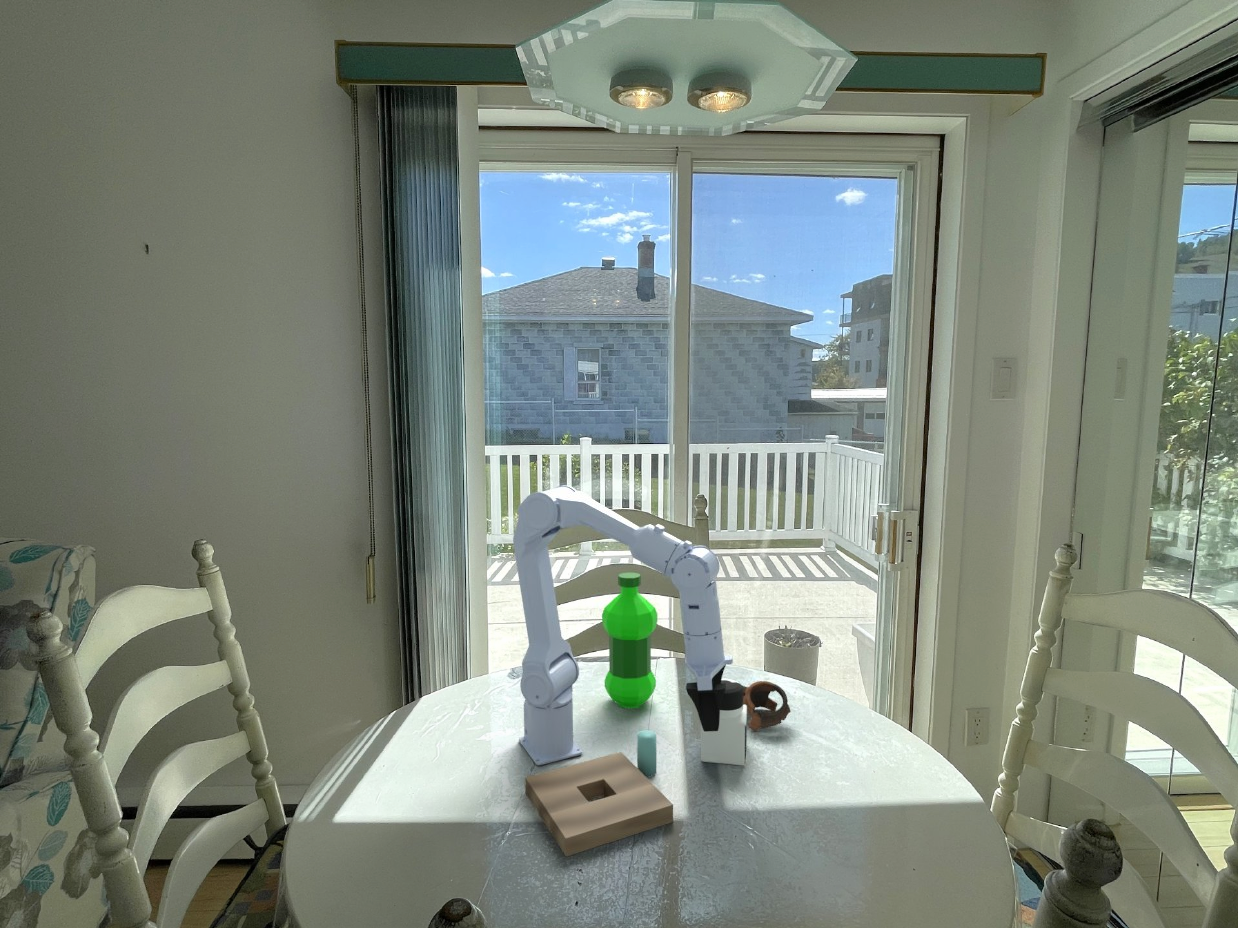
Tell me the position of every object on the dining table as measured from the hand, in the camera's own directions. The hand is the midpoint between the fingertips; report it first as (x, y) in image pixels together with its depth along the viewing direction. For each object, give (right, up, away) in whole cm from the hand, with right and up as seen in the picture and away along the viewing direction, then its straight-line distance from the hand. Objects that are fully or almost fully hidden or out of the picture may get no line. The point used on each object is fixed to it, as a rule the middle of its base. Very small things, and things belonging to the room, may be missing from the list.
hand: (711, 718), depth 104 cm
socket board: (-17, -11, -4) cm, 21 cm away
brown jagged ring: (+11, -9, +22) cm, 26 cm away
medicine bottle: (+4, -10, +11) cm, 15 cm away
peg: (-9, -10, +5) cm, 15 cm away
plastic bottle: (-12, -8, +30) cm, 33 cm away
